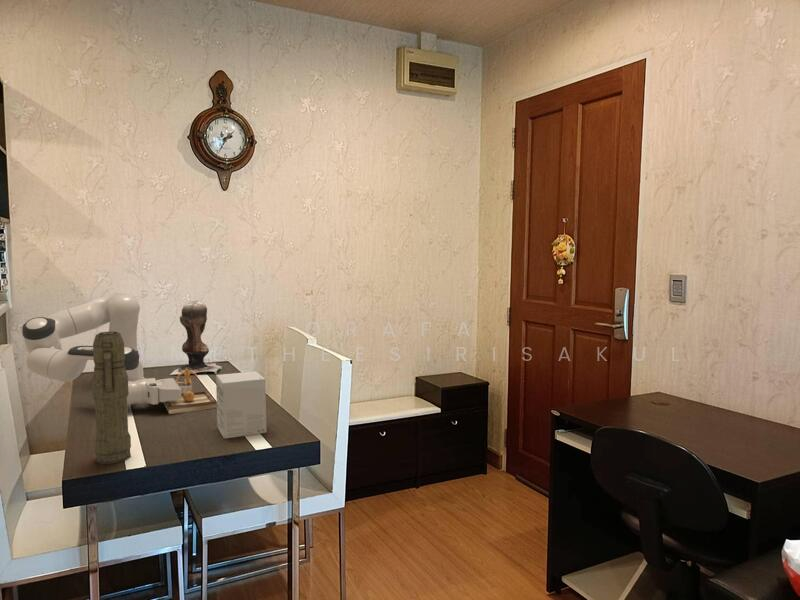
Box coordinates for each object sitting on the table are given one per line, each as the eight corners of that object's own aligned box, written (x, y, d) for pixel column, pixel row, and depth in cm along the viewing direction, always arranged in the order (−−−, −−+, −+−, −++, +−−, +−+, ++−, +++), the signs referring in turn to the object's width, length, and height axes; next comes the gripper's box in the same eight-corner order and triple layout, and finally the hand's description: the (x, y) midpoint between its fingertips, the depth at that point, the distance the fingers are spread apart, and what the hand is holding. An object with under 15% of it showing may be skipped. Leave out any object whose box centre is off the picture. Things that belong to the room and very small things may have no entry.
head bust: (225, 362, 288) (220, 294, 281) (218, 378, 263) (213, 304, 257) (179, 365, 284) (174, 296, 278) (168, 381, 260) (162, 306, 253)
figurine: (177, 404, 206) (176, 371, 206) (175, 400, 212) (174, 368, 211) (201, 401, 210) (200, 369, 210) (198, 397, 216) (197, 366, 215)
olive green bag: (96, 468, 150) (90, 336, 147) (94, 454, 160) (88, 331, 157) (133, 462, 154) (128, 334, 151) (129, 448, 164) (124, 329, 161)
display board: (162, 402, 215) (162, 395, 215) (206, 396, 223) (206, 390, 223) (169, 414, 199) (168, 407, 199) (216, 408, 207) (215, 401, 207)
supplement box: (257, 421, 191) (256, 370, 189) (267, 433, 179) (266, 378, 178) (216, 427, 185) (215, 374, 183) (223, 439, 173) (222, 382, 172)
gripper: (147, 392, 214) (186, 388, 220) (153, 405, 196) (195, 400, 202) (147, 376, 213) (186, 372, 220) (153, 387, 195) (195, 383, 202)
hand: (190, 386), depth 211 cm, fingers open, 4 cm apart
